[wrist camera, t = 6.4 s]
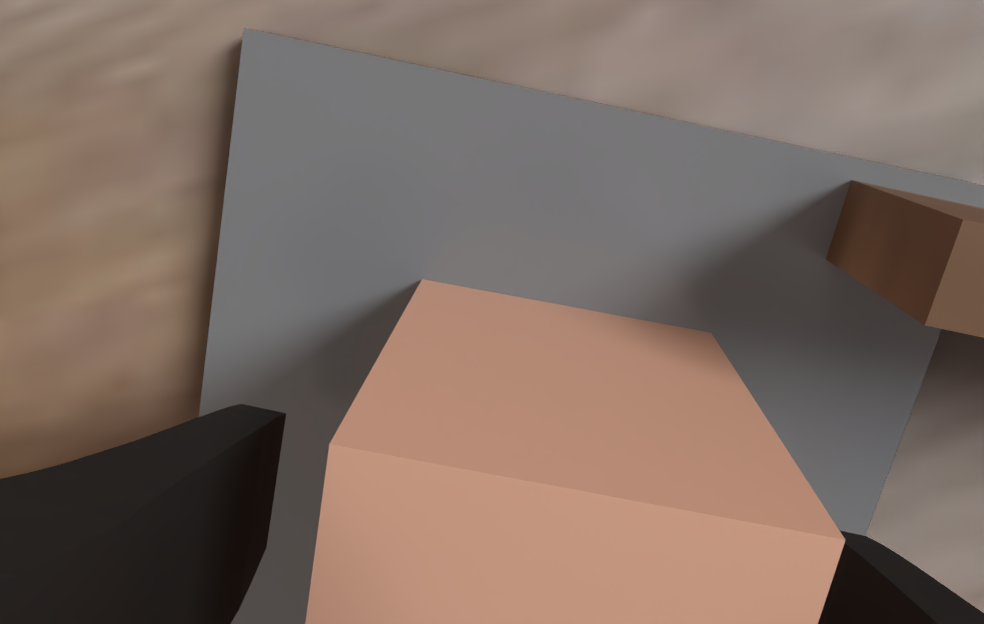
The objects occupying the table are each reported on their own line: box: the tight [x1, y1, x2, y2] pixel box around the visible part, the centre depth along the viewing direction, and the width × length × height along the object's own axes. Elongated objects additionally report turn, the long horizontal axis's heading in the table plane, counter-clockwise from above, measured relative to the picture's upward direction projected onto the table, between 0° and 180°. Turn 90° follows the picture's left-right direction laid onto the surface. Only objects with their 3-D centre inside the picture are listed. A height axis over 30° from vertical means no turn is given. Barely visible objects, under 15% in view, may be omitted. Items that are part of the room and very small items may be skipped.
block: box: [305, 279, 845, 624], centre depth 11 cm, size 4×4×6 cm
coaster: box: [199, 28, 984, 624], centre depth 14 cm, size 11×11×1 cm
